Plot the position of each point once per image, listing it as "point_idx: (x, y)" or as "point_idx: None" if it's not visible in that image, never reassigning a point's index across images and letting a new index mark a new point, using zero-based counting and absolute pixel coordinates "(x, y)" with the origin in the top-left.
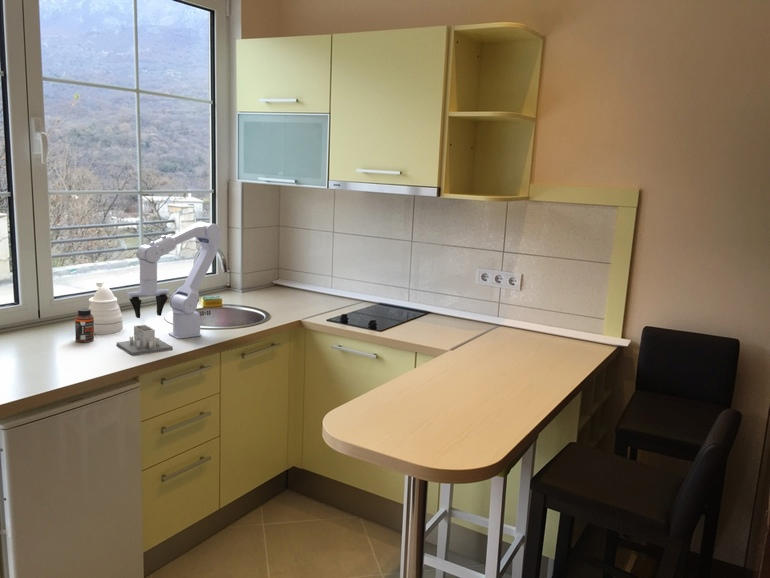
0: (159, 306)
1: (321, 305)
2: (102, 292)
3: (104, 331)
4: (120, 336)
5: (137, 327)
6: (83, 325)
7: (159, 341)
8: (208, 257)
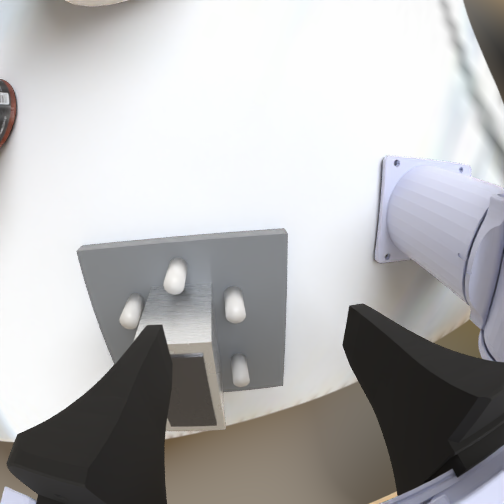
0: (382, 395)
1: None
2: None
3: (88, 2)
4: (137, 78)
5: None
6: None
7: (271, 311)
8: None
